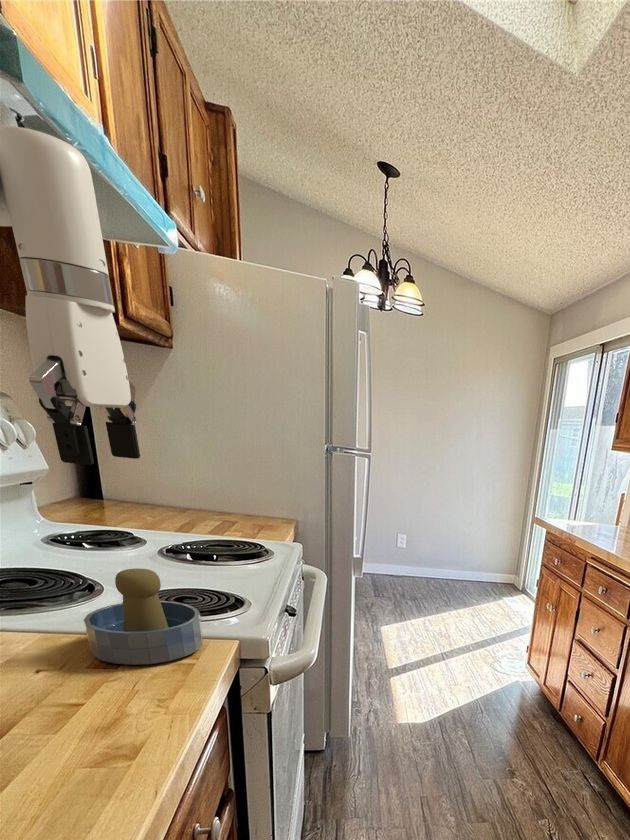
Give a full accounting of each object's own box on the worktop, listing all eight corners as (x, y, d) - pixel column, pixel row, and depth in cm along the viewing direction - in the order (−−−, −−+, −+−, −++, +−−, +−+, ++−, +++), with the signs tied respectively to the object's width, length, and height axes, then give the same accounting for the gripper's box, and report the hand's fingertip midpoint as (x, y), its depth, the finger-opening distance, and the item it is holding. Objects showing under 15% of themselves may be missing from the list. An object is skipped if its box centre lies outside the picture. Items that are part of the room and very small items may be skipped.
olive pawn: (128, 656, 76) (113, 578, 71) (120, 641, 80) (105, 566, 75) (178, 649, 80) (166, 574, 75) (168, 635, 84) (156, 563, 79)
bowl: (69, 664, 73) (60, 628, 71) (125, 628, 85) (119, 597, 83) (178, 671, 75) (172, 636, 73) (218, 635, 87) (214, 604, 85)
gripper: (82, 299, 67) (112, 452, 74) (-35, 264, 51) (17, 462, 58) (149, 308, 67) (171, 458, 75) (53, 276, 52) (93, 469, 59)
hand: (103, 460), depth 66 cm, fingers open, 9 cm apart
